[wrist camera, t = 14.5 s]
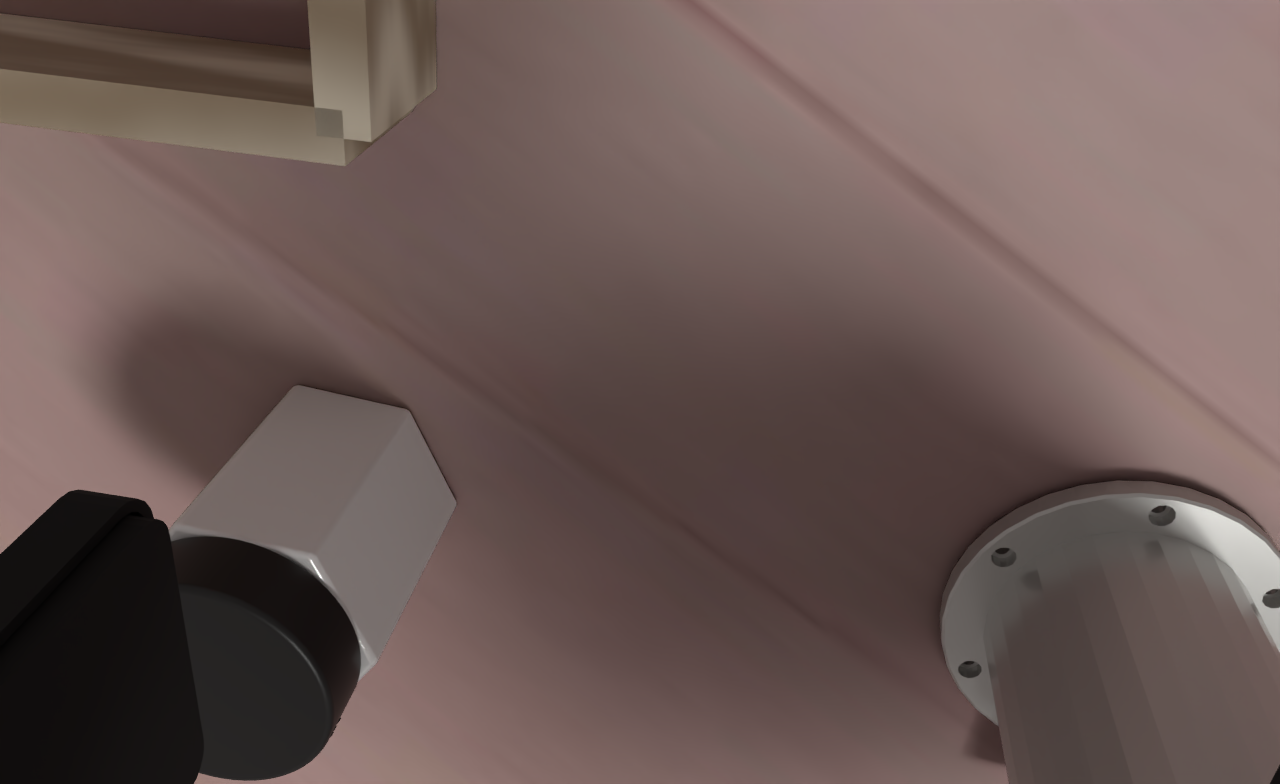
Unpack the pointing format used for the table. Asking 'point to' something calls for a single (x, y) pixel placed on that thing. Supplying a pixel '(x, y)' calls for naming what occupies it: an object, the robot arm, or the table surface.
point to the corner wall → (226, 81)
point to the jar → (301, 573)
